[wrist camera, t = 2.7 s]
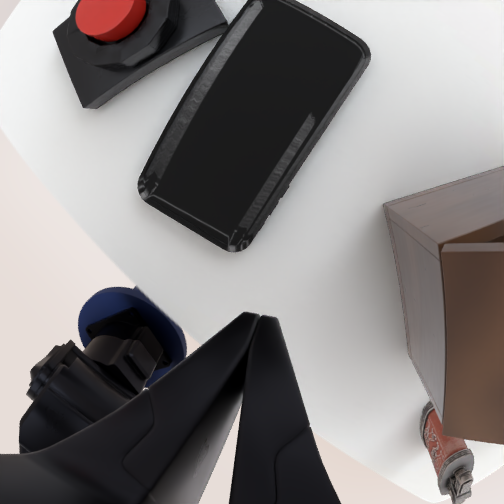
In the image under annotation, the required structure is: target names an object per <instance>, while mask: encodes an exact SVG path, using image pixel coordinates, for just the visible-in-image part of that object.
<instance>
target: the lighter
mask: <svg viewBox="0 0 504 504" xmlns="http://www.w3.org/2000/svg"><path fill="white" fill-rule="evenodd" d="M442 430H443V425H442V424H441V422H440V420H439V417H438V415H437V413H436V411H435V409H434V406H433V404H432V402H429V403H428V404H427V405H426V406H425V407H424V409H423V413H422V416H421V422H420V433H421V437H422V440H423V443H424V445H425V448H427V449H428V451H429V454H430V457H431V459H432V462H433V465H434V468H435V471H436V474H437V477H438V487H439V490H440V492H441V495H447V494H449V495H450V496H451V499H452V502H453V504H461V503H463V502H464V501H465V499H467V498H469V497H470V496H471V488H470V487H471V484H472V482H473V477H472V474H471V473H472V470H473V466H474V456H473V454H472V451H471V450H470V449H468V448H467V446H466V444H465V441H464V439H461V438H456V437H450V436H445V435H442Z"/></svg>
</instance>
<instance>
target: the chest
mask: <svg viewBox="0 0 504 504" xmlns="http://www.w3.org/2000/svg"><path fill="white" fill-rule="evenodd" d="M383 206H384V210H385V215H386V219H387V223H388V228H389V232H390V237H391V242H392V247H393V252H394V257H395V262H396V267H397V273H398V279H399V285H400V291H401V297H402V304H403V311H404V319H405V326H406V335H407V344H408V354H409V357H410V359H411V360H412V363H413V365H414V367H415V369H416V371H417V373H418V375H419V377H420V379H421V381H422V383H423V385H424V387H425V389H426V391H427V393H428V396H429V398H430V400H431V402H432V404H433V406H434V409H435V411H436V413H437V415H438V417H439V420H440V422H441V424H442V425H443V420H444V409H445V394H446V372H447V327H446V304H445V290H444V278H443V267H442V258H441V251H442V249H443V246H444V244H453V243H504V166H502V167H499V168H496V169H493V170H489V171H486V172H483V173H480V174H476V175H473V176H470V177H467V178H464V179H460V180H457V181H454V182H451V183H448V184H444V185H441V186H438V187H435V188H432V189H428V190H425V191H422V192H419V193H416V194H412V195H409V196H406V197H403V198H400V199H397V200H393V201H390V202H387V203H384V204H383Z"/></svg>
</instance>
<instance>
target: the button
mask: <svg viewBox="0 0 504 504" xmlns="http://www.w3.org/2000/svg"><path fill="white" fill-rule="evenodd" d="M145 11H146V0H81V1H80V3H79V5H78V8H77V11H76V23H77V26H78V28H79V29H80V31H82V32H83V33H85V34H87V35H89V36H91V37H94V38H96V39H98V40H101V41H105V42H112V41H117V40H120V39H122V38H124V37H126V36H128V35H129V34H130V33H132V32H133V31H134V30H135V29H136V28H137V27H138V25H139V24H140V23H141V21H142V19H143V17H144V15H145Z"/></svg>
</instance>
